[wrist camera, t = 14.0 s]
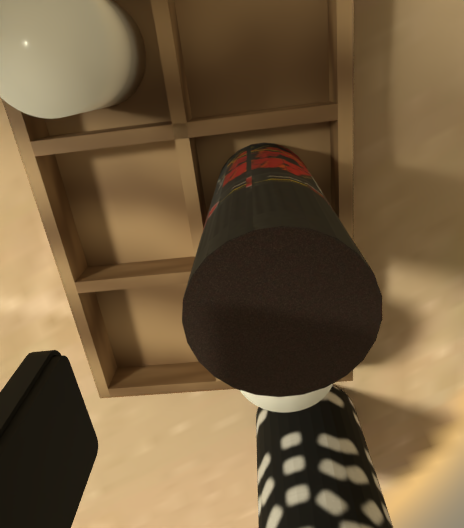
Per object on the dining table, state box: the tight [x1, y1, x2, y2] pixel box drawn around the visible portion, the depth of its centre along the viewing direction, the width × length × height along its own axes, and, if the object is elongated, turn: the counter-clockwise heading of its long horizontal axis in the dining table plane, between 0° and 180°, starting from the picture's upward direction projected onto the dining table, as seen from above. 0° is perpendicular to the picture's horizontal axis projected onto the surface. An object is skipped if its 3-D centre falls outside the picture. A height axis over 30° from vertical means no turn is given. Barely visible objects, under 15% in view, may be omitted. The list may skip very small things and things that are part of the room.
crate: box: [2, 0, 354, 398], centre depth 25 cm, size 27×18×3 cm
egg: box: [0, 0, 146, 119], centre depth 20 cm, size 6×6×7 cm
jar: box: [240, 384, 333, 412], centre depth 26 cm, size 6×6×7 cm
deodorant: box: [182, 142, 382, 397], centre depth 19 cm, size 6×6×15 cm
